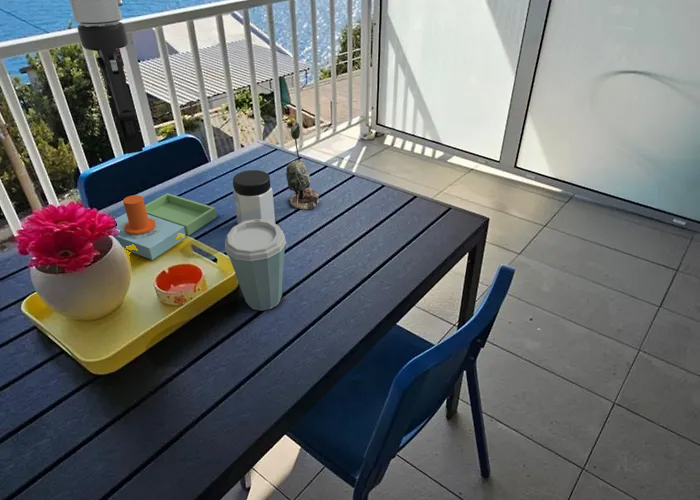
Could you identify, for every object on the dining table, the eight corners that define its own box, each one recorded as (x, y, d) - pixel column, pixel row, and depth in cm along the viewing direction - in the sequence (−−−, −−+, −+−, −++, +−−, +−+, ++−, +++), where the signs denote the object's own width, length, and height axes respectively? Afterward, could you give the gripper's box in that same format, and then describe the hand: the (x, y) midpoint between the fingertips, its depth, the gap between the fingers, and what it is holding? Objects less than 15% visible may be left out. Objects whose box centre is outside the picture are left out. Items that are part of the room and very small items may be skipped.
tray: (139, 218, 119) (136, 209, 117) (169, 202, 126) (167, 192, 124) (188, 235, 112) (186, 225, 111) (217, 217, 120) (215, 207, 118)
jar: (233, 219, 119) (227, 173, 112) (266, 211, 122) (261, 166, 115) (245, 237, 112) (239, 189, 105) (279, 228, 115) (275, 181, 109)
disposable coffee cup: (288, 318, 90) (282, 249, 81) (228, 319, 89) (216, 249, 81) (292, 282, 98) (288, 216, 90) (238, 283, 98) (228, 217, 90)
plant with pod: (277, 210, 123) (271, 131, 112) (299, 190, 131) (295, 116, 120) (307, 216, 120) (303, 137, 109) (327, 196, 129) (326, 121, 118)
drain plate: (100, 240, 111) (96, 228, 109) (135, 220, 118) (132, 209, 116) (152, 260, 104) (149, 248, 103) (186, 237, 112) (184, 226, 110)
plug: (121, 242, 110) (110, 202, 105) (144, 228, 115) (134, 189, 109) (142, 249, 108) (131, 209, 102) (164, 236, 112) (155, 196, 107)
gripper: (135, 33, 79) (162, 158, 90) (113, 11, 97) (138, 118, 109) (83, 37, 76) (118, 166, 87) (70, 13, 94) (101, 123, 105)
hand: (129, 140), depth 98 cm, fingers open, 13 cm apart
